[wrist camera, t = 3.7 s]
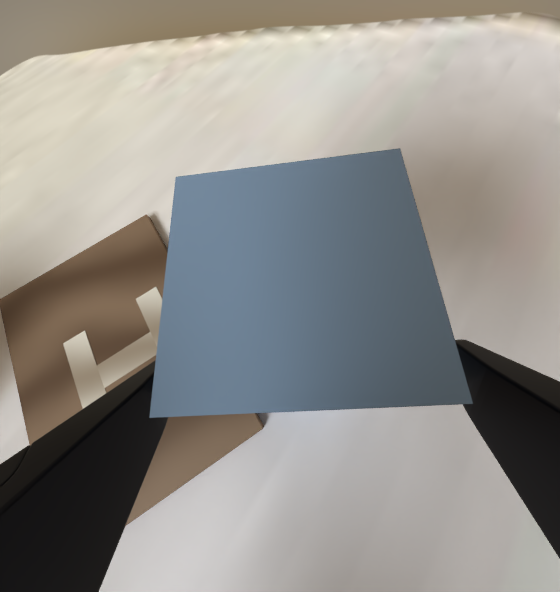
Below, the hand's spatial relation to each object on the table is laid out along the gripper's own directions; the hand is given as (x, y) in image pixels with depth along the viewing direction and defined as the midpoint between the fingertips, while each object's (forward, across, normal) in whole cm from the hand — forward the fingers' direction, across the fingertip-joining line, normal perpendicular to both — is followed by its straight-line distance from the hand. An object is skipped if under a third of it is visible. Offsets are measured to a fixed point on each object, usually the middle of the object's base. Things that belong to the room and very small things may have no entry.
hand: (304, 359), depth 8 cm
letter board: (+7, +14, +5) cm, 17 cm away
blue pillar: (+7, 0, +5) cm, 9 cm away
